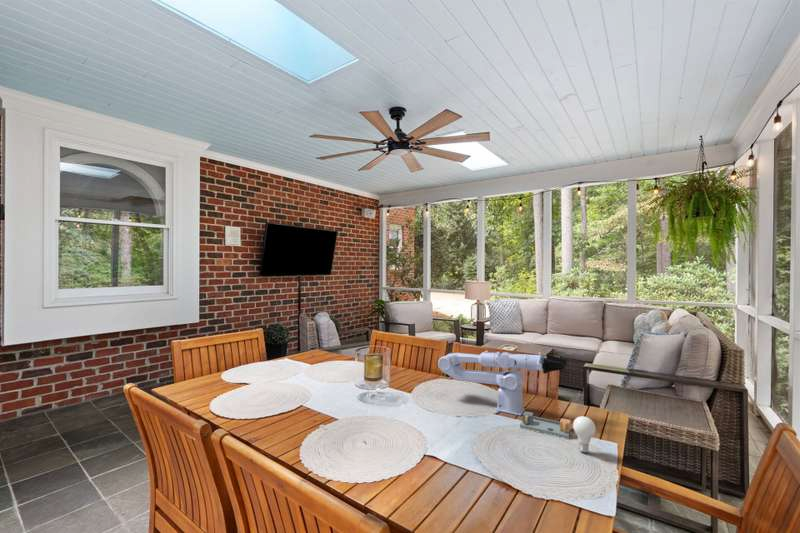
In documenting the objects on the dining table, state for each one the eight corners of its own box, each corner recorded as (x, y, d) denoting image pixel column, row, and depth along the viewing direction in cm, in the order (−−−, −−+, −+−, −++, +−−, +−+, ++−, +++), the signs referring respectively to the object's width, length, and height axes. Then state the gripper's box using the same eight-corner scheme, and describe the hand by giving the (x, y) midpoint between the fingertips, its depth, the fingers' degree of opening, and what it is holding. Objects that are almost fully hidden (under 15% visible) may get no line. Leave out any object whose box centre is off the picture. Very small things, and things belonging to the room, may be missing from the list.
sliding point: (559, 431, 125) (559, 422, 125) (561, 426, 129) (561, 418, 129) (568, 433, 124) (569, 424, 124) (570, 428, 128) (570, 420, 128)
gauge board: (519, 427, 131) (520, 416, 131) (525, 418, 139) (525, 407, 139) (568, 439, 123) (568, 426, 123) (571, 428, 131) (571, 416, 131)
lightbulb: (593, 449, 116) (593, 414, 116) (596, 458, 110) (597, 422, 110) (571, 445, 118) (572, 411, 118) (573, 454, 112) (574, 419, 112)
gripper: (523, 355, 138) (562, 357, 131) (530, 348, 151) (566, 350, 144) (524, 373, 138) (563, 377, 131) (532, 365, 150) (568, 368, 143)
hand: (565, 364), depth 137 cm, fingers open, 7 cm apart
